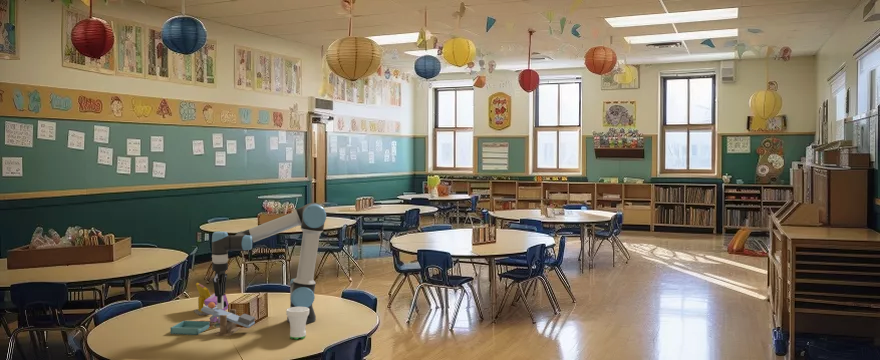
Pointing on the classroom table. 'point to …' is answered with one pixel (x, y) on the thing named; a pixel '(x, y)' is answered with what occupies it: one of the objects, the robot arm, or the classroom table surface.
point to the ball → (211, 305)
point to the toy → (214, 299)
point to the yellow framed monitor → (202, 298)
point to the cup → (297, 321)
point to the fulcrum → (227, 325)
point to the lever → (231, 316)
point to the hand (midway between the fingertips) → (220, 308)
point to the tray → (190, 327)
